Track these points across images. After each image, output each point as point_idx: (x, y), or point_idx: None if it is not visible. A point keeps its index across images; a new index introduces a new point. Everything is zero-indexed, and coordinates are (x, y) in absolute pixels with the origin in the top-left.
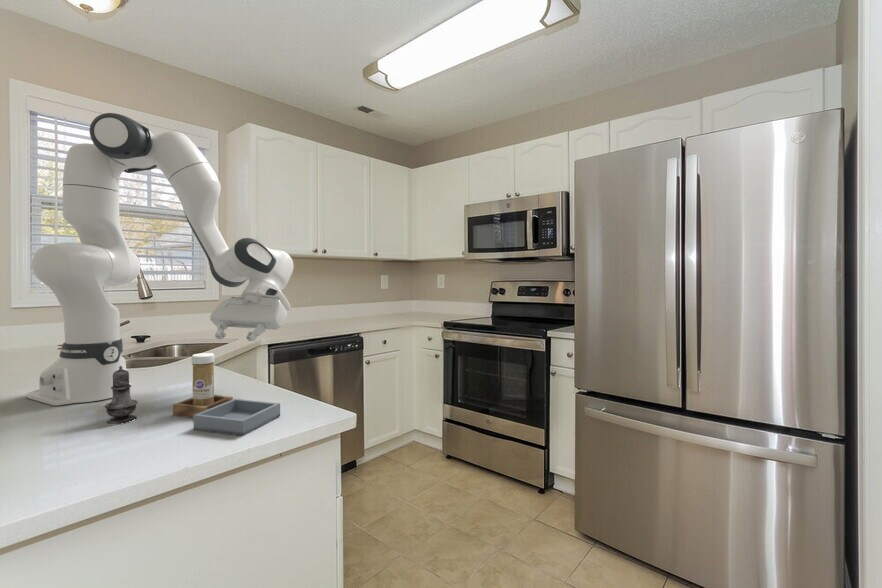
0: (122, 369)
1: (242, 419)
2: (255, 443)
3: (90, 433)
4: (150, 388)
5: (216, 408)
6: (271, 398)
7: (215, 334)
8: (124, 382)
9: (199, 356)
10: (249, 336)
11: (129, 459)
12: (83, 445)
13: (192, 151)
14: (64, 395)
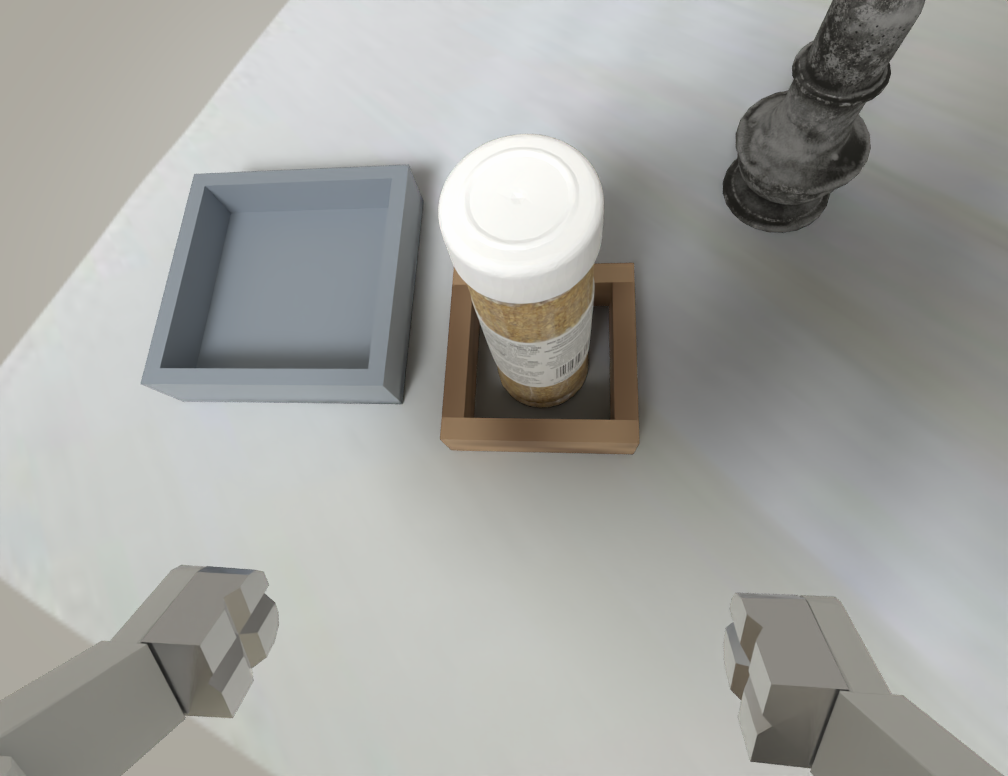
0: None
1: (204, 185)
2: (164, 178)
3: (737, 80)
4: None
5: (382, 257)
6: (344, 644)
7: (835, 604)
8: (815, 38)
9: (492, 142)
10: (200, 573)
11: (433, 14)
12: (649, 24)
13: None
14: None
